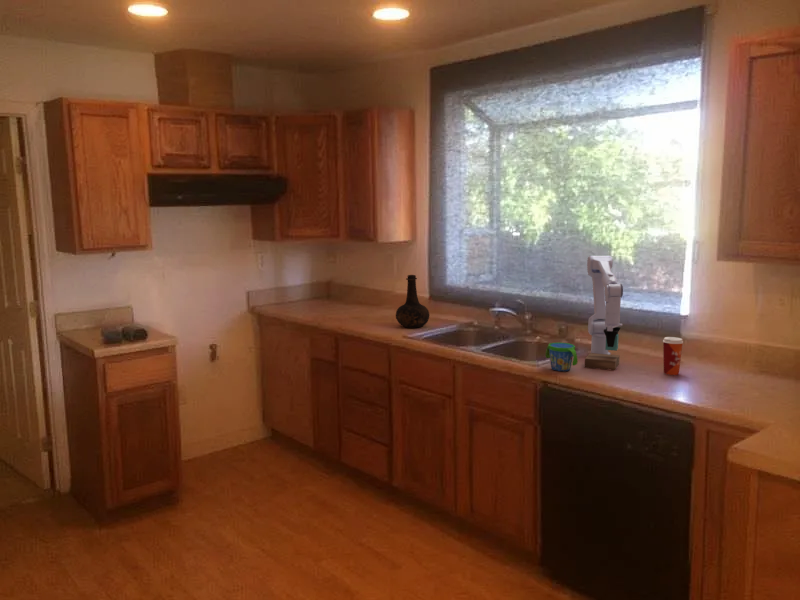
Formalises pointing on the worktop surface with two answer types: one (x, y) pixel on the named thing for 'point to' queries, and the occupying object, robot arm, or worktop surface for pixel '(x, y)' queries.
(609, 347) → the teal block
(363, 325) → the worktop surface
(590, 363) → the walnut base
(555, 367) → the snack cup
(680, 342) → the paper cup
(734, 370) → the worktop surface
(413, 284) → the glass bottle
